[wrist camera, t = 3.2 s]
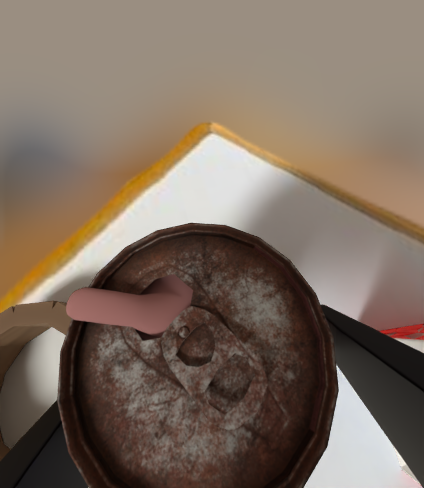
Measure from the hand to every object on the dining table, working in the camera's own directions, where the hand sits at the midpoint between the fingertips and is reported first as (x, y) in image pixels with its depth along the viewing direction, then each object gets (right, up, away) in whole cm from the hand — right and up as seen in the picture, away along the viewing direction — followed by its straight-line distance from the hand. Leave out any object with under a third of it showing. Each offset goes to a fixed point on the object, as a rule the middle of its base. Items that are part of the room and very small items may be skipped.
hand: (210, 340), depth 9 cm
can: (+1, -3, +8) cm, 9 cm away
